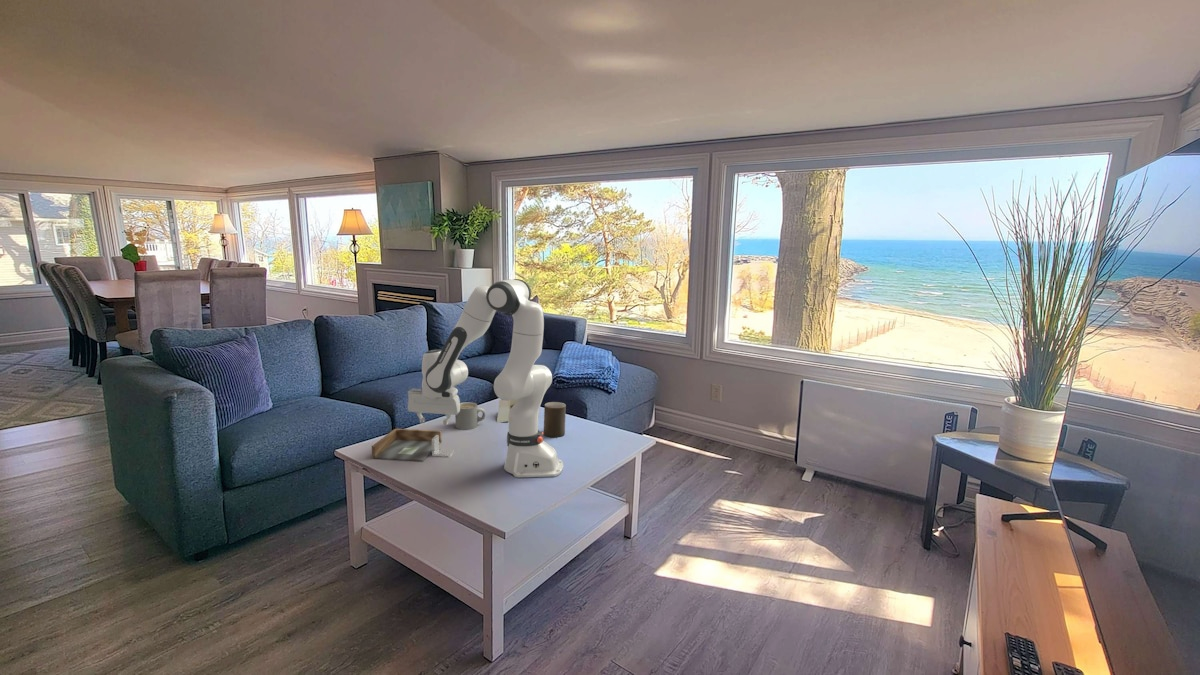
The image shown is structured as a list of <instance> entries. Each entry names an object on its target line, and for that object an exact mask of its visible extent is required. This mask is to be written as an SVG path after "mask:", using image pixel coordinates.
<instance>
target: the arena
mask: <svg viewBox="0 0 1200 675" xmlns="http://www.w3.org/2000/svg"><path fill="white" fill-rule="evenodd" d="M436 435H439V445H440V444H442V440H443V439H442V430H432V429H431V430H429V429H414V428H413V429H411V428H410V429H409V428H393V429H392V430H391V431H390V432H389V433H387V434H386V435H384V436H383V437H382V438H381V439H379V440H378V441H377V442H376V443H374V444H373V445H372V446H371V458H372V459H374V460H390V461H391V460H392V461H405V462H406V461H409V462H424V461H425V460H426V459H427V458H428V457H429V456H430V455H432V439H433V438H434V437H435V436H436Z"/></svg>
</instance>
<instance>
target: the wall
mask: <svg viewBox="0 0 1200 675" xmlns="http://www.w3.org/2000/svg"><path fill="white" fill-rule="evenodd" d="M515 402H516V400H511V401H504V400H501V399H499V401H498V409H497V416H496V417H497V418H496V423H498V424H499V423H505V422H508V423H509V411H510V409H511V408H512V407H513V406H514V404H515Z"/></svg>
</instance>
